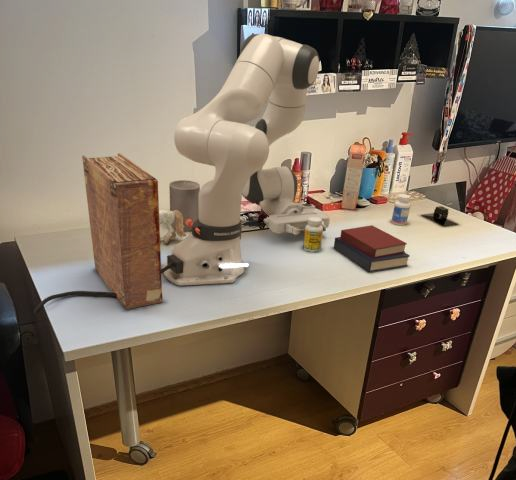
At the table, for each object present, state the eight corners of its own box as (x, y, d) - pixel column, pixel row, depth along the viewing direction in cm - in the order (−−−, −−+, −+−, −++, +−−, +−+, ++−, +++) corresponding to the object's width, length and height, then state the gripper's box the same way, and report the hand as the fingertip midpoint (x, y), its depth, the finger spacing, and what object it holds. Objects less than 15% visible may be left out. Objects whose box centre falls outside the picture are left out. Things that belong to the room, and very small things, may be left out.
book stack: (368, 272, 153) (372, 251, 149) (333, 248, 167) (336, 228, 164) (407, 266, 158) (412, 245, 155) (370, 243, 172) (373, 223, 169)
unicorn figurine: (118, 241, 162) (114, 198, 154) (179, 234, 169) (178, 192, 162) (124, 250, 156) (120, 205, 149) (187, 242, 164) (186, 199, 157)
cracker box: (356, 210, 200) (365, 153, 189) (340, 209, 201) (348, 151, 189) (358, 200, 211) (366, 145, 200) (342, 198, 212) (350, 143, 201)
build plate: (458, 225, 193) (461, 212, 190) (443, 227, 190) (446, 214, 187) (435, 213, 202) (438, 201, 200) (420, 215, 199) (422, 203, 197)
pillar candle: (173, 220, 180) (171, 175, 172) (201, 222, 180) (201, 177, 172) (167, 230, 172) (166, 183, 164) (198, 232, 172) (197, 185, 164)
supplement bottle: (316, 245, 168) (320, 215, 163) (322, 251, 164) (326, 221, 159) (300, 246, 167) (303, 216, 162) (306, 252, 163) (309, 222, 157)
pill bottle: (388, 220, 192) (393, 193, 187) (401, 219, 194) (407, 193, 189) (396, 225, 188) (401, 198, 183) (409, 225, 190) (415, 197, 184)
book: (95, 269, 144) (81, 154, 128) (128, 263, 149) (119, 152, 132) (126, 310, 126) (115, 183, 110) (163, 302, 131) (157, 179, 114)
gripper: (261, 209, 168) (281, 223, 158) (317, 204, 176) (340, 217, 166) (260, 228, 172) (280, 244, 161) (315, 222, 180) (337, 236, 169)
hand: (310, 230), depth 164 cm, fingers open, 8 cm apart
